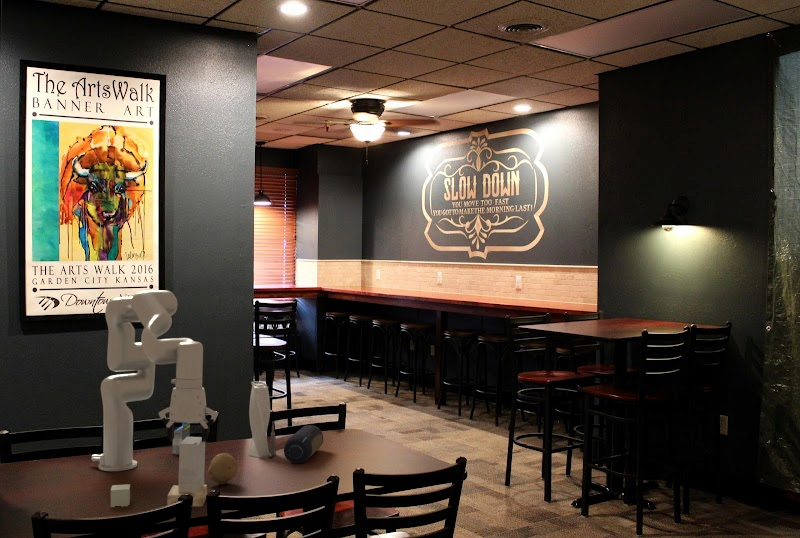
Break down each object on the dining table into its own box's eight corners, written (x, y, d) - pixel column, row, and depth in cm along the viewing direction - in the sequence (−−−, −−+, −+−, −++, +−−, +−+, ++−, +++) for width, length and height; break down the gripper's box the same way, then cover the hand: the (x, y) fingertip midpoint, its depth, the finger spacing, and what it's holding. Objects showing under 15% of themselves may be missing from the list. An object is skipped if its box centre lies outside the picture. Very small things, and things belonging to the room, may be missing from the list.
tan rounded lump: (243, 485, 250) (243, 453, 250) (218, 490, 244) (219, 458, 244) (227, 478, 257) (228, 448, 257) (203, 484, 251) (203, 453, 251)
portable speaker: (308, 466, 273) (309, 438, 273) (281, 465, 275) (281, 437, 275) (325, 449, 298) (325, 423, 298) (300, 448, 300) (300, 422, 300)
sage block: (110, 507, 227) (110, 490, 227) (112, 502, 232) (112, 485, 232) (128, 506, 228) (129, 489, 228) (129, 500, 233) (130, 484, 233)
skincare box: (185, 484, 238) (185, 436, 238) (205, 485, 238) (205, 436, 238) (177, 493, 230) (178, 442, 229) (198, 493, 230) (198, 442, 229)
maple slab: (167, 509, 228) (167, 495, 228) (173, 498, 238) (173, 485, 238) (202, 508, 229) (202, 494, 229) (206, 497, 239) (206, 484, 239)
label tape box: (179, 448, 296) (179, 416, 296) (190, 448, 296) (190, 416, 296) (171, 454, 288) (172, 420, 287) (182, 454, 287) (183, 421, 287)
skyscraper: (260, 460, 282) (261, 382, 282) (243, 457, 286) (244, 380, 286) (276, 455, 289) (277, 379, 289) (259, 452, 293) (260, 377, 293)
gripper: (156, 384, 229) (154, 443, 230) (215, 386, 229) (214, 444, 230) (163, 380, 237) (161, 436, 237) (220, 382, 237) (219, 438, 238)
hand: (187, 440), depth 234 cm, fingers open, 9 cm apart
